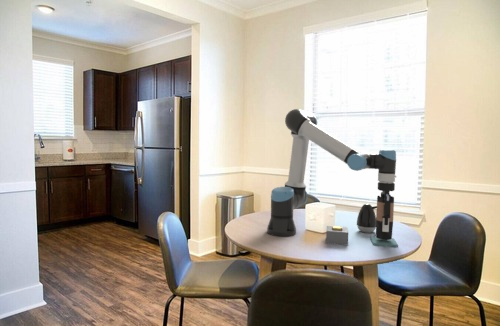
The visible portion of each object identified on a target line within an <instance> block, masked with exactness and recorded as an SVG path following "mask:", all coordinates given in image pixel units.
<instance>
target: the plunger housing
mask: <svg viewBox="0 0 500 326" xmlns="http://www.w3.org/2000/svg"><path fill="white" fill-rule="evenodd" d="M333 226H334V225H326V235H325V238H326V240H325V244H330V245H341V246H348V245H349V227H347V226H341V227H342V231H339V230H333Z"/></svg>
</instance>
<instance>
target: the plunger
mask: <svg viewBox="0 0 500 326" xmlns="http://www.w3.org/2000/svg"><path fill="white" fill-rule="evenodd" d="M332 226H333V230H339V231H342V227H343V226H339V225H338V226H337V225H332Z"/></svg>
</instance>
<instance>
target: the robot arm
mask: <svg viewBox="0 0 500 326" xmlns="http://www.w3.org/2000/svg"><path fill="white" fill-rule="evenodd" d="M284 119H285V120H284V121H285V126H286V128H287V129H288V130H289V131H291V132H290V136H291V137H292V147H291V153H290V154H291V155H290V161H289V171H288V178H287V179H288V180H287V181H285V182H284V186H278V187H274V188H273V189H272V190H271V194H270V219H269V222H268V224H267V227H266V233H267V234H269V235H272V236H276V237H290V236H291V237H292V236H294V235H296V234H297V228H296V225H295V220H294V210H296V209H300V208H302V207H303V206H304V205H305V204H307V201H308V192H307V190H306V189H307V185H306V184H305V176H306V175H305V173H306V166H307V157H308V150H309V142H310V141H311V142H312V143H314V144H315V145H316V146H318V147H320V148H321V149H323V150H325V151H326V152H328V153H329V154H331V155H332V156H334V157H335V158H337V159H339V160H340V161H342V162H343V163H344V164H346V165H347V166H348V169H351V170H353V171H357V172H358V171H363V170H366V169H367V170H368V169H369V170H370V169H371V170H378V172H377V181H378V183H377V190H378V191H381V192H380V197H383V198H385V205H384V211H383V212H384V216H382V218H383V226H382V232H389V218H390V205H391V195H392V194H390V192H394V191H395V187H396V186H395V185H396V184H395V182H396V178H397V175H396V170H397V169H396V166H397V165H396V164H397V152H396V150H395V149H380V150H379V152H378V153H373V152H372V153H370V152H359V151H357V150H356V149H354V148H353V147H351V146H349V144H346V143H344V142H343V141H341V140H340V139H339V138H337V137H335V136H333V135H332V134H330V133H329V132H327V131H326V130H324V129H323V128H321V127H319V126H318V119H317V117H316V115H315V114H314V113H313V112H311V111H309V110H305V109H299V108H294V109H291V110H290V111H288V113H286V116H285V118H284Z"/></svg>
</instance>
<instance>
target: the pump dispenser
mask: <svg viewBox="0 0 500 326" xmlns="http://www.w3.org/2000/svg"><path fill="white" fill-rule="evenodd" d="M375 209H377V205H374V206H372V205H371V204H370V203H364V204H363V205H362V206H361V207H360V209H359V212H358V215H357V219H356V226H357V229H358V230H359V232H361V233H365V234H370V233H373V232H374V231H376V212H375Z"/></svg>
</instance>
